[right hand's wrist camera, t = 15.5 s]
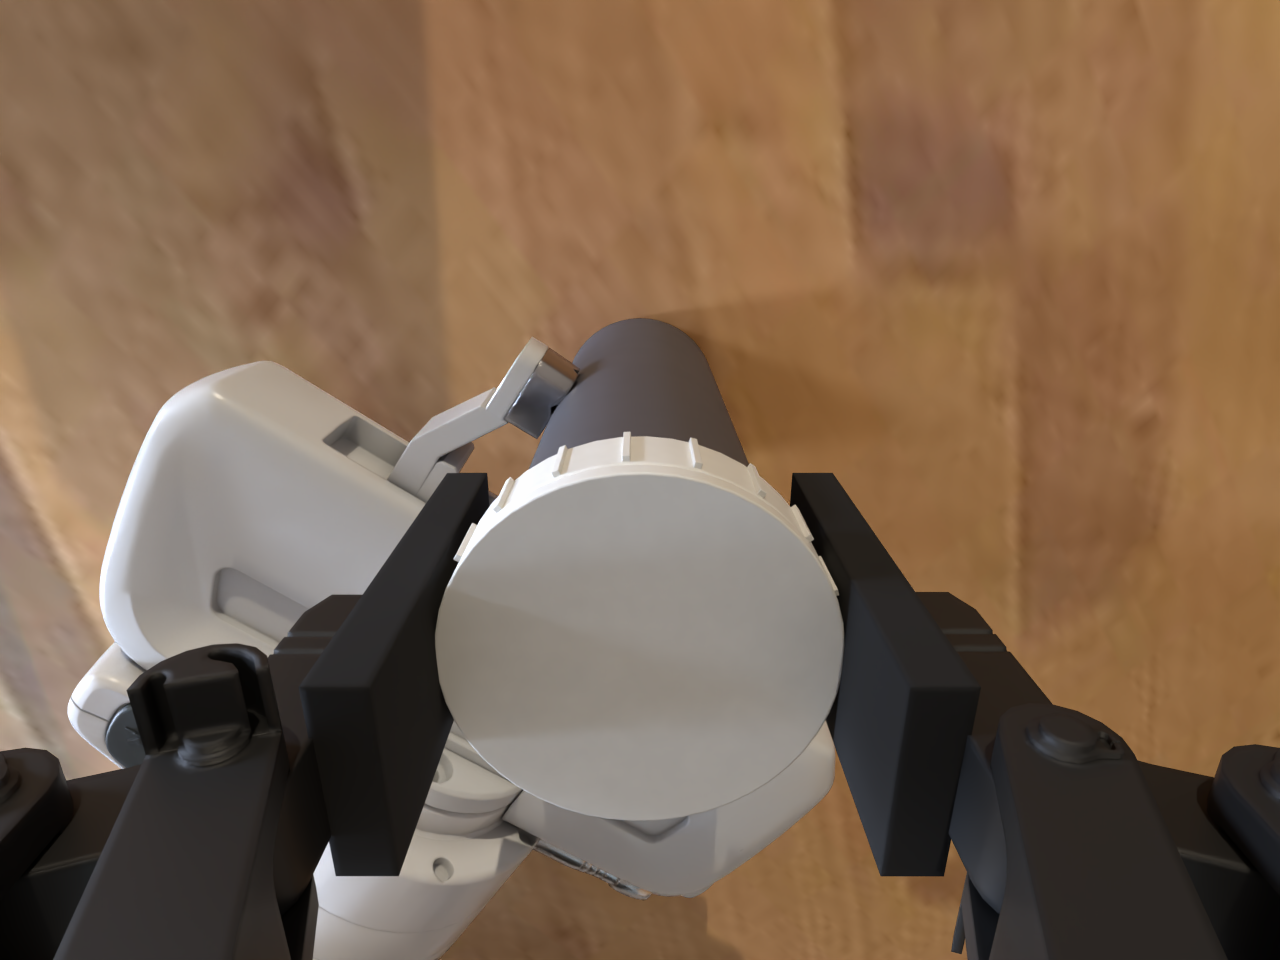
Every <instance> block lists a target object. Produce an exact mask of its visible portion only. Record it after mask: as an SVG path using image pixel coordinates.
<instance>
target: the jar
mask: <svg viewBox="0 0 1280 960" xmlns="http://www.w3.org/2000/svg"><path fill="white" fill-rule="evenodd" d="M572 364H574V365H575V366H577V367H578V368H580V371H579V373H578V376H577V379H576V380H575V382H574V384H573V386H572V388H571V389H570V391H569V392H568V394H567V395H566V397H565V398H564V399H563V400H562V401H561V403H560V404H558V405H555V408H554V411H553V413H552V415H551V418H550V420H549V422H548V424H547V426H546V429H545V431H544V433H543V436H542V438H541V441H540V443H539V446H538V448H537V451H536V453H535V456H534V458H533V460H532V463H531V465H530V468H529V469H531V468H532V467H534V466H536V465H537V464H539V463H541V462H542V461H544V460H546V459H547V458H549V457H552V456H554V455H556V454H557V453H558V450H559V447H561V446H564V445H566V447H567V449H570V448H573V447H576V446H580V445H583V444H587V443H590V442H594V441H599V440H605V439H611V438H618V437H623V433H624V432H631V437H639V436H649V437H659V438H670V439H676V440H680V441H685V442H689V440H690V438H694V439H697V441H698V445H700V446H703V447H706V448H709V449H711V450H714V451H717V452H720V453H722V454H724V455H726V456H728V457H730V458H732V459H734V460H736V461H737V462H739V463H741V464H743V465H745V466H746V467H747V466H748V465H749V463H748V461H747V458H746V456H745V453H744V451H743V448H742V446H741V443H740V441H739V438H738V436H737V434H736V431H735V429H734V426H733V424H732V421H731V419H730V416H729V414H728V411H727V409H726V406H725V404H724V401H723V399H722V396H721V394H720V392H719V389H718V387H717V384H716V382H715V379H714V377H713V374H712V372H711V369H710V367H709V364H708V362H707V360H706V358H705V356H704V354H703V353H702V351H701V350H700V348H699V347H698V346H697V345H696V343H695V342H694V341H693V340H692V339H691V338H690V337H689V336H687V335H686V334H685V333H684V332H682V331H681V330H679V329H678V328H676V327H674V326H672V325H670V324H667V323H664V322H661V321H657V320H652V319H642V318H638V319H628V320H623V321H619V322H616V323H613V324H610V325H608V326H606V327H604V328H602V329H601V330H599V331H598V332H597V333H595V334H594V335H593V336H592V337H590V338H589V339H588V340H587V341H586V342H585V343H584V345H583V346H582V347H581V348H580V350H579V351H578V353H577V355H576V356H575V358H574V360H573V363H572Z"/></svg>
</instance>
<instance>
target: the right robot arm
mask: <svg viewBox="0 0 1280 960" xmlns="http://www.w3.org/2000/svg"><path fill="white" fill-rule="evenodd" d="M794 505H796V506H797V507H798V509H799V510H800V512H801V514H802V516H803V518H804V520H805V522H806V524H807V526H808V528H809V530H810V532H811V534H812V536H813V538H814V540H813V541H811V542H812V544H813V547H814V549H815V551H816V553H817V555H818V556H821V557H822V559H823V561H824V563H825V565H826V567H827V569H828V571H829V573H830V575H831V577H832V579H833V581H834V583H835V585H836V587H837V589H838V592H839V596H837V599H838V602H839V607H840V611H841V615H842V619H843V625H844V638H845V646H844V655H843V664H842V673H841V680H840V685H839V689H838V693H837V695H836V698H835V700H834V703H833V705H832V708H831V710H830V713H829V715H828V716H827V718H826V723H827V726H828V729H829V731H830V734H831V737H832V740H833V743H834V745H835V748H836V751H837V754H838V757H839V760H840V762H841V765H842V768H843V771H844V774H845V777H846V779H847V782H848V785H849V788H850V791H851V794H852V796H853V799H854V802H855V805H856V808H857V811H858V813H859V816H860V819H861V822H862V825H863V827H864V830H865V833H866V836H867V839H868V842H869V844H870V847H871V850H872V853H873V856H874V859H875V861H876V864H877V867H878V870H879V873H880V876H944V872H945V867H946V862H947V857H948V852H949V847H950V842H951V839H952V841H953V844H954V846H955V848H956V850H957V852H958V854H959V856H960V858H961V860H962V862H963V864H964V866H965V868H966V870H967V875H966V880H965V884H964V889H963V894H962V898H961V903H960V908H959V913H958V917H957V922H956V927H955V931H954V937H953V943H952V950H951V952H955V953H959V954H962V950H963V945H964V941H966V950H967V958H968V960H1280V748H1276V747H1269V746H1263V745H1256V744H1254V745H1245V746H1236V747H1233V748H1232V749H1230V750H1229V751H1228V752H1226V753H1225V754H1223V755H1222V757H1221V760H1220V763H1219V766H1218V769H1217V772H1216V775H1215V777H1209V776H1204V775H1199V774H1195V773H1190V772H1185V771H1180V770H1176V769H1171V768H1166V767H1161V766H1157V765H1152V764H1148V763H1145V762H1141V761H1138V760H1137V759H1136V757H1135V754H1134V753H1133V752H1132V750H1131V749H1130V748H1129V746H1128V745H1127V744H1126V742H1125V741H1124V740H1123V738H1122V737H1120V736H1119V735H1118V734H1116V733H1115V732H1114V731H1112V730H1111V729H1110V728H1108V727H1107V726H1106V725H1104V724H1103V723H1101V722H1099V721H1097V720H1095V719H1093V718H1091V717H1089V716H1087V715H1084V714H1082V713H1080V712H1078V711H1075V710H1071V709H1067V708H1064V707H1060V706H1056V705H1053V704H1052V703H1051V702H1050V700H1049V699H1048V698H1047V697H1046V696H1045V694H1044V693H1043V692H1042V691H1041V689H1040V688H1039V687H1038V686H1037V684H1036V683H1035V682H1034V681H1033V680H1032V678H1031V677H1030V676H1029V675H1028V673H1027V672H1026V671H1025V670H1024V668H1023V667H1022V666H1021V665H1020V664H1019V662H1018V661H1017V660H1016V659H1015V657H1014V656H1013V655H1012V654H1011V652H1007V651H1006V646H1005V645H1004V644H1003V643H1002V641H1001V640H1000V639H999V638H998V636H997V635H996V634H993V633H992V629H991V628H990V627H989V625H988V624H987V623H986V622H985V620H984V619H983V618H982V617H981V615H980V614H979V613H978V612H977V611H976V609H974V608H972V607H971V606H969V605H968V604H966V603H964V602H963V601H961V600H960V599H958V598H957V597H955V596H953V595H952V594H950V593H949V592H915V591H914V590H913V588H912V587H911V585H910V584H909V582H908V581H907V580H906V578H905V577H904V575H903V574H902V572H901V571H900V570H899V568H898V567H897V565H896V564H895V562H894V561H893V559H892V558H891V557H890V555H889V554H888V552H887V551H886V549H885V548H884V546H883V545H882V544H881V542H880V541H879V539H878V538H877V536H876V535H875V533H874V532H873V531H872V529H871V528H870V526H869V525H868V523H867V522H866V521H865V519H864V518H863V516H862V515H861V513H860V512H859V510H858V509H857V508H856V506H855V505H854V503H853V502H852V500H851V499H850V497H849V496H848V495H847V493H846V492H845V490H844V489H843V487H842V486H841V485H840V483H839V482H838V480H837V479H836V477H835V476H834V474H833V473H793V474H792V487H791V499H790V507H792V506H794ZM489 507H490V505H489V492H488V479H487V473H447V474H446V475H445V477H444V478H443V480H442V481H441V482H440V484H439V485H438V487H437V488H436V490H435V491H434V493H433V494H432V495H431V497H430V498H429V500H428V501H427V503H426V504H425V506H424V507H423V508H422V510H421V511H420V513H419V514H418V516H417V517H416V518H415V520H414V521H413V523H412V524H411V526H410V527H409V529H408V530H407V531H406V533H405V534H404V536H403V537H402V539H401V540H400V542H399V543H398V544H397V546H396V547H395V549H394V550H393V552H392V553H391V554H390V556H389V557H388V559H387V560H386V562H385V563H384V565H383V566H382V567H381V569H380V570H379V572H378V573H377V575H376V576H375V577H374V579H373V580H372V582H371V583H370V585H369V586H368V588H367V589H366V590H365V592H364V593H363V595H330V596H329V597H327V598H326V599H324V600H322V601H321V602H319V603H318V604H316V605H315V606H313V607H311V608H310V609H308V610H307V611H305V612H304V613H303V614H302V615H301V617H300V618H299V619H298V620H297V622H296V623H295V624H294V625H293V627H292V628H291V629H290V630H289V632H288V635H287V637H284V638H283V639H282V640H281V642H280V643H279V644H278V645H277V646H276V648H275V649H274V654H270V655H269V656H268V658H267V655H266V654H264V653H263V652H262V651H260V650H259V649H258V648H257V647H253V646H248V645H244V644H239V643H232V644H213V645H209V646H205V647H200V648H196V649H192V650H188V651H185V652H182V653H180V654H178V655H175V656H173V657H170V658H168V659H165V660H163V661H161V662H159V663H158V664H156V665H155V666H153V667H151V668H150V669H148V670H147V671H145V672H144V673H142V674H141V675H139V677H138V678H137V679H136V680H135V681H134V682H133V683H132V684H131V686H130V687H129V688H128V689H127V690H126V691H127V694H128V697H129V701H130V704H131V707H132V711H133V714H134V717H135V721H136V724H137V728H138V731H139V734H140V738H141V741H142V744H143V748H144V751H145V754H146V756H145V758H144V760H143V762H142V764H140V765H136V766H132V767H129V768H124V769H120V770H115V771H110V772H106V773H101V774H96V775H92V776H87V777H82V778H77V779H73V780H68V781H66V779H65V776H64V774H63V771H62V768H61V765H60V762H59V759H58V758H56V757H55V756H54V755H52V754H51V753H50V752H48V751H47V750H41V749H32V748H21V749H14V750H7V751H1V752H0V960H313V952H314V943H315V934H316V925H317V916H318V908H319V903H318V896H317V889H316V884H315V880H314V875H313V873H314V871H315V869H316V867H317V865H318V863H319V861H320V859H321V857H322V855H323V853H324V851H325V848H326V846H327V844H328V842H329V845H330V850H331V855H332V860H333V865H334V870H335V875H336V876H399V874H400V871H401V869H402V866H403V863H404V860H405V857H406V855H407V852H408V849H409V846H410V843H411V840H412V838H413V835H414V832H415V829H416V826H417V823H418V821H419V818H420V815H421V812H422V809H423V806H424V804H425V801H426V798H427V795H428V792H429V790H430V787H431V784H432V781H433V778H434V775H435V773H436V770H437V767H438V764H439V761H440V758H441V756H442V753H443V750H444V747H445V744H446V741H447V739H448V736H449V733H450V730H451V727H452V725H453V722H454V719H453V717H452V715H451V713H450V710H449V708H448V706H447V704H446V702H445V699H444V696H443V692H442V689H441V686H440V683H439V675H438V667H437V658H436V649H435V631H436V624H437V618H438V612H439V608H440V605H441V602H442V599H443V596H444V593H445V589H446V587H447V585H448V583H449V581H450V579H451V577H452V575H453V573H454V571H455V569H456V567H457V565H458V563H459V562H457V561H455V560H454V557H455V555H456V553H457V551H458V549H459V547H460V546H461V544H462V542H463V540H464V538H465V536H466V534H467V532H468V530H469V528H470V526H471V524H472V523H474V524H476V525H478V523H479V521H480V519H481V518H482V517H483V515H484V514H485V512H486V511H487V509H488V508H489Z"/></svg>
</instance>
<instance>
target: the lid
mask: <svg viewBox="0 0 1280 960" xmlns="http://www.w3.org/2000/svg"><path fill="white" fill-rule="evenodd" d="M813 540H814V538H813V536H812V534H811V532H810V530H809V528H808V526H807V524H806V522H805V520H804V518H803V516H802V514H801V512H800V510H799V509H798V507H797V506H796V505H794V506H792V507H790V506H789V505H788V503H787V502H786V501H785V500H784V498H783V497H782V496H781V495H780V494H779V493H778V492H777V491H776V490H775V489H774V488H773V487H772V486H771V485H770V484H768V483H767V482H766V481H765V480H764V479H763V478H762V477H760V476H759V474H758V471H757V469H756V467H755V466H754V465H752V464H751V463H750V464H749V465H748V466H747V467H746V466H745V465H743V464H741V463H739V462H737V461H736V460H734V459H732V458H730V457H728V456H726V455H724V454H722V453H720V452H717V451H714V450H711V449H709V448H706V447H703V446H700V445H698V441H697V439H694V438H690V440H689V442H685V441H680V440H676V439H670V438H659V437H649V436H639V437H631V432H624V433H623V437H618V438H611V439H605V440H599V441H594V442H590V443H587V444H583V445H580V446H576V447H573V448H570V449H567V447H566V445H564V446H561V447H559V450H558V453H557V454H556V455H554V456H552V457H549V458H547V459H546V460H544V461H542V462H541V463H539V464H537V465H536V466H534V467H532V468H531V469H529V470H527V471H526V472H525V473H523V474H522V475H521V476H520V477H518V478H517V479H516V480H515V481H514V480H513V479H512V478H511V477H510V478H509V479H507V480H506V482H505V484H504V486H503V488H502V490H501V492H500V494H499V496H498V497H497V498H496V499H495V500H494V501H493V502H492V504H491V505H490V507H489V508H488V509H487V511H486V512H485V514H484V515H483V517H482V518H481V519H480V521H479V523H478V525H476V524H474V523H472V524H471V526H470V528H469V530H468V532H467V534H466V536H465V538H464V540H463V542H462V544H461V546H460V547H459V549H458V551H457V553H456V555H455V557H454V560H455V561H457V562H459V563H458V565H457V567H456V569H455V571H454V573H453V575H452V577H451V579H450V581H449V583H448V585H447V587H446V589H445V593H444V596H443V599H442V602H441V605H440V608H439V612H438V618H437V624H436V631H435V649H436V658H437V667H438V675H439V683H440V686H441V689H442V692H443V696H444V699H445V702H446V704H447V706H448V708H449V710H450V713H451V715H452V717H453V719H454V721H455V723H456V724H457V726H458V727H459V729H460V730H461V732H462V733H463V735H464V736H465V738H466V739H467V741H468V742H469V743H470V744H471V746H472V747H473V748H474V749H475V750H476V751H477V753H478V754H479V755H480V756H481V757H482V758H483V759H484V760H485V761H486V762H487V763H488V764H489V765H490V766H492V767H493V768H494V769H495V770H496V771H497V772H498V773H499V774H501V775H502V776H504V777H505V778H506V779H508V780H509V781H511V782H512V783H514V784H515V785H516V786H518V787H519V788H521V789H523V790H525V791H527V792H528V793H530V794H532V795H534V796H536V797H538V798H540V799H542V800H544V801H547V802H549V803H552V804H554V805H556V806H559V807H561V808H564V809H568V810H571V811H575V812H578V813H582V814H585V815H590V816H596V817H601V818H607V819H617V820H630V821H645V820H663V819H671V818H679V817H685V816H689V815H693V814H698V813H702V812H706V811H709V810H712V809H715V808H718V807H721V806H724V805H726V804H729V803H731V802H733V801H735V800H738V799H740V798H742V797H744V796H746V795H748V794H750V793H752V792H753V791H755V790H757V789H758V788H760V787H762V786H763V785H765V784H767V783H768V782H770V781H771V780H772V779H774V778H775V777H776V776H777V775H779V774H780V773H781V772H782V771H784V770H785V769H786V768H788V767H789V766H790V765H791V764H792V763H793V762H794V761H795V760H796V759H797V758H798V757H799V756H800V755H801V754H802V753H803V752H804V750H805V749H806V748H807V747H808V745H809V744H810V743H811V741H812V740H813V739H814V737H815V736H816V735H817V734H818V732H819V730H820V729H821V727H822V725H823V723H824V722H825V720H826V718H827V716H828V715H829V713H830V710H831V708H832V705H833V703H834V700H835V698H836V695H837V693H838V689H839V685H840V680H841V673H842V664H843V655H844V646H845V638H844V625H843V619H842V615H841V611H840V607H839V602H838V599H837V596H839V592H838V589H837V587H836V585H835V583H834V581H833V579H832V577H831V575H830V573H829V571H828V569H827V567H826V565H825V563H824V561H823V559H822V557H821V556H818V555H817V553H816V551H815V549H814V547H813V544H812V542H811V541H813Z"/></svg>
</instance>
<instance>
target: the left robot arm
mask: <svg viewBox="0 0 1280 960" xmlns="http://www.w3.org/2000/svg"><path fill="white" fill-rule="evenodd" d="M579 371H580V368H578V367H577V366H575V365H574V364H572V363H571V362H570V361H568V360H567V359H565V358H564V357H562V356H561V355H559V354H558V353H556V352H555V351H554V350H552V349H551V348H548V346H547V345H545V344H544V343H542V342H540V341H539V340H537V339H535V338H534V337H531V339H530V340H529V341H528V343H527V344H526V345H525V347H524V348H523V350H522V351H521V353H520V354H519V356H518V357H517V359H516V360H515V362H514V363H513V365H512V366H511V368H510V370H509V371H508V373H507V374H506V376H505V377H504V379H503V381H502V382H501V384H500V385H499V387H498V389H496V388H492V389H490V390H488V391H486V392H484V393H482V394H480V395H478V396H475V397H473V398H471V399H469V400H467V401H465V402H463V403H461V404H459V405H457V406H455V407H453V408H450V409H448V410H446V411H444V412H442V413H440V414H438V415H436V416H434V417H432V418H431V419H430V420H429V421H428V423H427V424H426V425H425V426H424V427H423V428H422V429H421V430H420V431H419V432H418V433H417V434H416V435H415V436H414V438H413V439H412V440H411V441H410V442H408V441H406V440H404V439H403V438H401V437H399V436H398V435H396V434H395V433H393V432H391V431H390V430H388V429H386V428H385V427H383V426H381V425H380V424H378V423H376V422H375V421H373V420H371V419H370V418H368V417H366V416H365V415H363V414H361V413H360V412H358V411H357V410H355V409H353V408H352V407H350V406H348V405H347V404H345V403H343V402H342V401H340V400H338V399H337V398H335V397H333V396H332V395H330V394H328V393H327V392H325V391H324V390H322V389H320V388H319V387H317V386H315V385H314V384H312V383H310V382H309V381H307V380H305V379H304V378H302V377H300V376H299V375H297V374H296V373H294V372H292V371H291V370H289V369H287V368H286V367H284V366H282V365H280V364H278V363H276V362H272V361H258V362H253V363H249V364H245V365H241V366H237V367H233V368H229V369H226V370H223V371H220V372H217V373H214V374H212V375H209V376H207V377H204V378H202V379H200V380H198V381H196V382H194V383H192V384H190V385H188V386H187V387H185V388H183V389H182V390H180V391H179V392H177V393H176V394H175V395H174V396H172V397H171V398H170V399H169V400H168V401H167V402H166V403H165V404H164V405H163V407H162V408H161V409H160V411H159V412H158V414H157V416H156V418H155V419H154V421H153V423H152V425H151V427H150V429H149V431H148V433H147V435H146V437H145V439H144V442H143V444H142V446H141V449H140V451H139V453H138V456H137V458H136V461H135V463H134V466H133V468H132V471H131V473H130V476H129V478H128V481H127V484H126V487H125V490H124V492H123V495H122V498H121V501H120V504H119V507H118V510H117V514H116V517H115V520H114V523H113V526H112V530H111V534H110V537H109V541H108V545H107V548H106V552H105V556H104V560H103V564H102V569H101V576H100V590H99V594H100V605H101V610H102V614H103V618H104V621H105V624H106V626H107V628H108V630H109V632H110V634H111V636H112V637H113V639H114V640H115V642H114V643H113V644H112V645H111V646H110V647H109V648H108V649H107V650H106V652H105V653H104V654H103V655H102V656H101V657H100V658H99V660H98V661H97V662H96V663H95V664H94V665H93V667H92V668H91V669H90V670H89V671H88V672H87V674H86V675H85V676H84V677H83V679H82V680H81V681H80V682H79V684H78V685H77V687H76V688H75V690H74V692H73V694H72V696H71V698H70V701H69V704H68V717H69V720H70V722H71V724H72V726H73V727H74V729H75V730H76V731H77V732H78V733H79V735H80V736H81V737H82V738H84V739H85V740H86V741H87V742H88V743H89V744H91V745H92V746H93V747H94V748H95V749H97V750H98V751H99V752H100V753H102V754H103V755H104V756H106V757H107V758H108V759H109V760H111V761H112V762H113V763H115V764H116V765H117V766H118V767H120V768H121V769H124V768H129V767H132V766H136V765H140V764H142V762H143V760H144V758H145V756H146V754H145V751H144V748H143V744H142V741H141V738H140V734H139V731H138V728H137V724H136V721H135V717H134V714H133V711H132V707H131V704H130V701H129V697H128V694H127V691H126V690H127V689H128V688H129V687H130V686H131V684H132V683H133V682H134V681H135V680H136V679H137V678H138V677H139V675H141V674H142V673H144V672H145V671H147V670H148V669H150V668H151V667H153V666H155V665H156V664H158V663H159V662H161V661H163V660H165V659H168V658H170V657H173V656H175V655H178V654H180V653H182V652H185V651H188V650H192V649H196V648H200V647H205V646H209V645H213V644H232V643H239V644H244V645H248V646H253V647H257V648H258V649H259V650H260V651H262V652H263V653H264V654H266V655H267V658H268V656H269V655H270V654H274V649H275V648H276V646H277V645H278V644H279V643H280V642H281V640H282V639H283V638H284V637H287V635H288V632H289V630H290V629H291V628H292V627H293V625H294V624H295V623H296V622H297V620H298V619H299V618H300V617H301V615H302V614H303V613H304V612H305V611H307V610H308V609H310V608H311V607H313V606H315V605H316V604H318V603H319V602H321V601H322V600H324V599H326V598H327V597H329V596H330V595H363V593H364V592H365V590H366V589H367V588H368V586H369V585H370V583H371V582H372V580H373V579H374V577H375V576H376V575H377V573H378V572H379V570H380V569H381V567H382V566H383V565H384V563H385V562H386V560H387V559H388V557H389V556H390V554H391V553H392V552H393V550H394V549H395V547H396V546H397V544H398V543H399V542H400V540H401V539H402V537H403V536H404V534H405V533H406V531H407V530H408V529H409V527H410V526H411V524H412V523H413V521H414V520H415V518H416V517H417V516H418V514H419V513H420V511H421V510H422V508H423V507H424V506H425V504H426V503H427V501H428V500H429V498H430V497H431V495H432V494H433V493H434V491H435V490H436V488H437V487H438V485H439V484H440V482H441V481H442V480H443V478H444V477H445V475H446V474H447V473H460V471H461V469H462V468H463V466H464V464H465V463H466V461H467V459H468V458H469V456H470V455H471V453H472V451H473V450H474V444H473V443H472V442H471V441H473V440H475V439H477V438H479V437H481V436H483V435H485V434H487V433H489V432H491V431H493V430H495V429H497V428H499V427H501V426H503V425H505V424H507V423H508V422H509V423H511V424H513V425H514V426H516V427H518V428H519V429H521V430H523V431H524V432H526V433H528V434H529V435H531V436H533V437H534V438H536V439H538V437H539V436H540V434H541V433H542V431H543V430H544V428H545V427H546V425H547V424H548V422H549V420H550V418H551V415H552V413H553V411H554V408H555V405H558V404H560V403H561V401H562V400H563V399H564V398H565V397H566V395H567V394H568V392H569V391H570V389H571V388H572V386H573V384H574V382H575V380H576V379H577V376H578V373H579ZM488 492H489V505H491V504H492V502H493V501H494V500H495V499H496V498H497V497H498V496H497V495H495V494H494V493H492V492H490V491H489V490H488ZM834 777H835V747H834V743H833V740H832V737H831V734H830V731H829V729H828V726H827V723H826V720H825V722H824V723H823V725H822V727H821V729H820V730H819V732H818V734H817V735H816V736H815V737H814V739H813V740H812V741H811V743H810V744H809V745H808V747H807V748H806V749H805V750H804V752H803V753H802V754H801V755H800V756H799V757H798V758H797V759H796V760H795V761H794V762H793V763H792V764H791V765H790V766H789V767H788V768H786V769H785V770H784V771H782V772H781V773H780V774H779V775H777V776H776V777H775V778H774V779H772V780H771V781H770V782H768V783H767V784H765V785H763V786H762V787H760V788H758V789H757V790H755V791H753V792H752V793H750V794H748V795H746V796H744V797H742V798H740V799H738V800H735V801H733V802H731V803H729V804H726V805H724V806H721V807H718V808H715V809H712V810H709V811H706V812H702V813H698V814H693V815H689V816H685V817H679V818H671V819H663V820H645V821H630V820H617V819H607V818H601V817H596V816H590V815H585V814H582V813H578V812H575V811H571V810H568V809H564V808H561V807H559V806H556V805H554V804H552V803H549V802H547V801H544V800H542V799H540V798H538V797H536V796H534V795H532V794H530V793H528V792H527V791H525V790H523V789H521V788H519V787H518V786H516V785H515V784H514V783H512V782H511V781H509V780H508V779H506V778H505V777H504V776H502V775H501V774H499V773H498V772H497V771H496V770H495V769H494V768H493V767H492V766H490V765H489V764H488V763H487V762H486V761H485V760H484V759H483V758H482V757H481V756H480V755H479V754H478V753H477V751H476V750H475V749H474V748H473V747H472V746H471V744H470V743H469V742H468V741H467V739H466V738H465V736H464V735H463V733H462V732H461V730H460V729H459V727H458V726H457V724H456V723H455V721H454V722H453V725H452V727H451V730H450V733H449V736H448V739H447V741H446V744H445V747H444V750H443V753H442V756H441V758H440V761H439V764H438V767H437V770H436V773H435V775H434V778H433V781H432V784H431V787H430V790H429V792H428V795H427V798H426V801H425V804H424V806H423V809H422V812H421V815H420V818H419V821H418V823H417V826H416V829H415V832H414V835H413V838H412V840H411V843H410V846H409V849H408V852H407V855H406V857H405V860H404V863H403V866H402V869H401V871H400V874H399V876H336V875H335V870H334V865H333V860H332V855H331V850H330V845H329V842H328V844H327V846H326V848H325V851H324V853H323V855H322V857H321V859H320V861H319V863H318V865H317V867H316V869H315V871H314V873H313V875H314V880H315V884H316V889H317V896H318V903H319V908H318V916H317V925H316V934H315V943H314V952H313V960H438V959H439V958H440V957H441V956H442V955H443V954H445V953H446V951H447V950H448V949H449V948H450V947H451V946H452V945H453V944H454V942H456V940H457V939H458V938H459V937H460V936H461V934H462V933H463V932H464V931H465V930H466V928H467V927H468V926H469V925H470V924H471V922H472V921H473V920H474V919H475V918H476V917H477V915H478V914H479V913H480V912H481V911H482V909H483V908H484V907H485V906H486V905H487V903H488V902H489V901H490V900H491V899H492V897H493V896H494V895H495V894H496V892H497V891H498V890H499V889H500V887H501V886H502V885H503V884H504V883H505V882H506V880H507V879H508V878H509V877H510V876H511V874H512V873H513V872H514V871H515V870H516V869H517V867H518V866H519V865H520V864H521V863H522V861H523V860H524V859H525V858H526V857H527V856H528V854H529V853H530V852H531V851H532V849H533V850H535V851H537V852H539V853H541V854H543V855H545V856H547V857H549V858H551V859H553V860H555V861H557V862H559V863H561V864H563V865H565V866H567V867H570V868H572V869H575V870H578V871H581V872H585V873H587V874H590V875H593V876H595V877H597V878H599V879H601V880H603V881H605V882H607V883H608V884H609V886H610V887H611V888H613V889H614V890H616V891H617V892H619V893H621V894H623V895H625V896H628V897H631V898H634V899H639V900H646V899H648V898H649V897H650V896H651V894H655V895H659V896H669V897H670V896H684V897H687V898H692V897H695V896H697V895H700V894H701V893H703V892H704V891H706V890H707V889H708V888H709V887H710V886H711V885H712V884H713V883H715V882H716V881H718V880H720V879H721V878H723V877H725V876H726V875H728V874H729V873H731V872H732V871H734V870H735V869H736V868H738V867H739V866H741V865H742V864H744V863H745V862H746V861H748V860H749V859H751V858H752V857H753V856H755V855H756V854H757V853H759V852H760V851H761V850H763V849H764V848H765V847H767V846H768V845H769V844H771V843H772V842H773V841H774V840H776V839H777V838H778V837H779V836H781V835H782V834H783V833H784V832H786V831H787V830H788V829H789V828H790V827H792V826H793V825H794V824H795V823H796V822H798V821H799V820H800V819H801V818H802V817H803V816H805V815H806V814H807V813H808V812H809V811H810V810H811V809H812V808H813V807H815V806H816V805H817V804H818V803H819V802H820V801H821V800H822V799H823V798H824V797H825V796H826V795H827V793H828V792H829V790H830V789H831V787H832V785H833V782H834Z"/></svg>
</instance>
